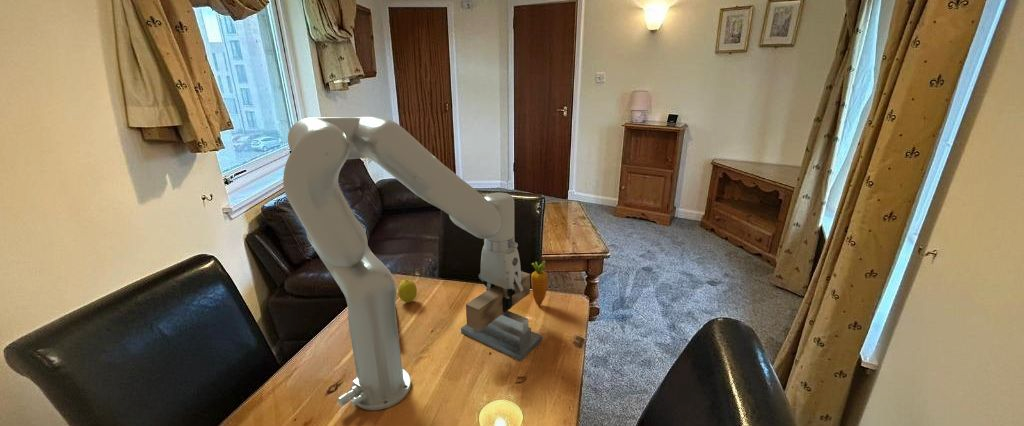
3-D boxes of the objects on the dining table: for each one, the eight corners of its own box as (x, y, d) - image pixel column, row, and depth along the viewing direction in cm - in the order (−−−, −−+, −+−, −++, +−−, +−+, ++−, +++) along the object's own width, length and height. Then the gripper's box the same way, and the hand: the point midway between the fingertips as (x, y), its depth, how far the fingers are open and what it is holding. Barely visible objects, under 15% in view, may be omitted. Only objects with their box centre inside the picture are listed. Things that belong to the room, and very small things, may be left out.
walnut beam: (518, 289, 116) (518, 270, 114) (530, 293, 114) (530, 274, 112) (466, 325, 99) (465, 304, 98) (479, 331, 97) (478, 309, 95)
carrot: (528, 308, 123) (529, 263, 118) (532, 300, 127) (533, 256, 122) (545, 311, 121) (546, 265, 116) (548, 302, 126) (549, 258, 121)
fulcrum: (520, 361, 100) (520, 333, 98) (461, 332, 111) (459, 307, 109) (542, 340, 108) (542, 314, 105) (484, 315, 119) (483, 291, 116)
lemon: (421, 301, 127) (419, 278, 124) (408, 309, 123) (406, 285, 120) (408, 296, 130) (406, 273, 127) (395, 304, 125) (393, 281, 123)
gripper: (535, 245, 99) (534, 310, 105) (483, 231, 108) (485, 291, 114) (518, 256, 93) (518, 324, 99) (464, 239, 102) (467, 303, 108)
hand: (500, 306), depth 106 cm, fingers closed on walnut beam, 3 cm apart
